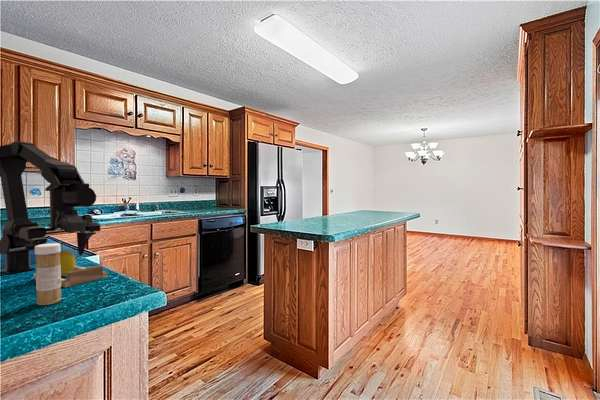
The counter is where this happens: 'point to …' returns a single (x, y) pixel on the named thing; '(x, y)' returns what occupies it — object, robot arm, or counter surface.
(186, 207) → the counter surface
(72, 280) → the channel
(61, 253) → the lemon
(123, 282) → the counter surface
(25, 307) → the counter surface
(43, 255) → the sprinkles bottle
